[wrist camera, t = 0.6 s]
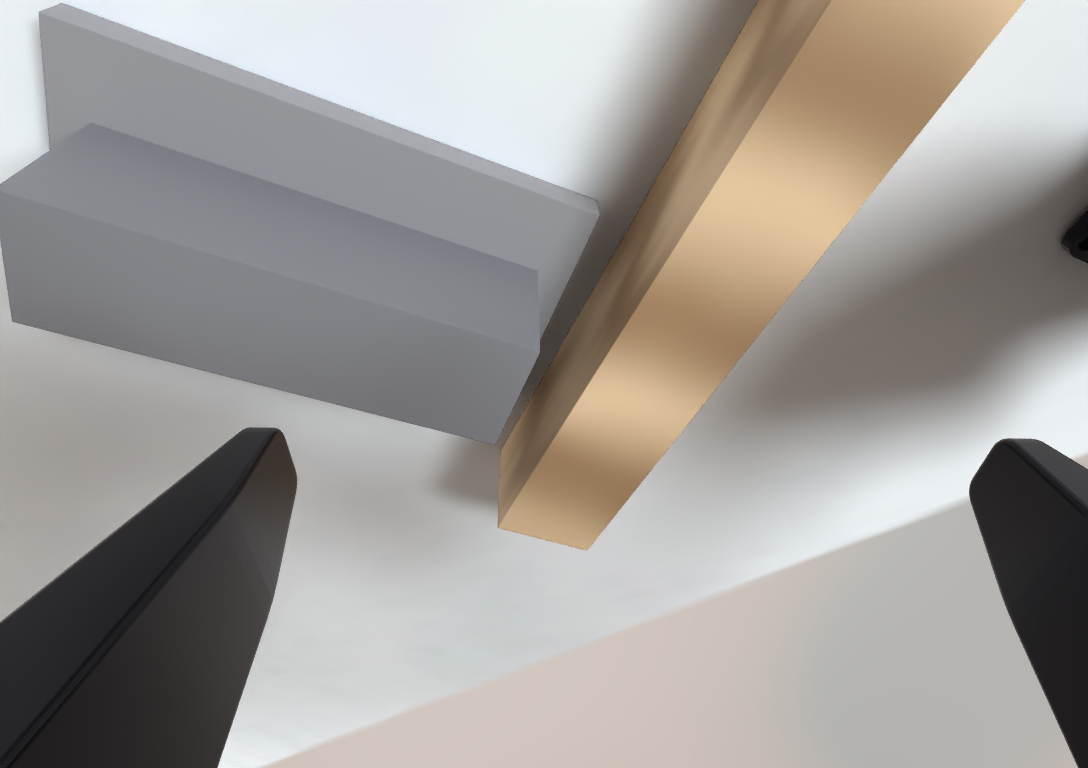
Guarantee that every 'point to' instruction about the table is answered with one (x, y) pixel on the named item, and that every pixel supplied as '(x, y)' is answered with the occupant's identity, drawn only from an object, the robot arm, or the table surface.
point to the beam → (730, 238)
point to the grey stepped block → (279, 235)
